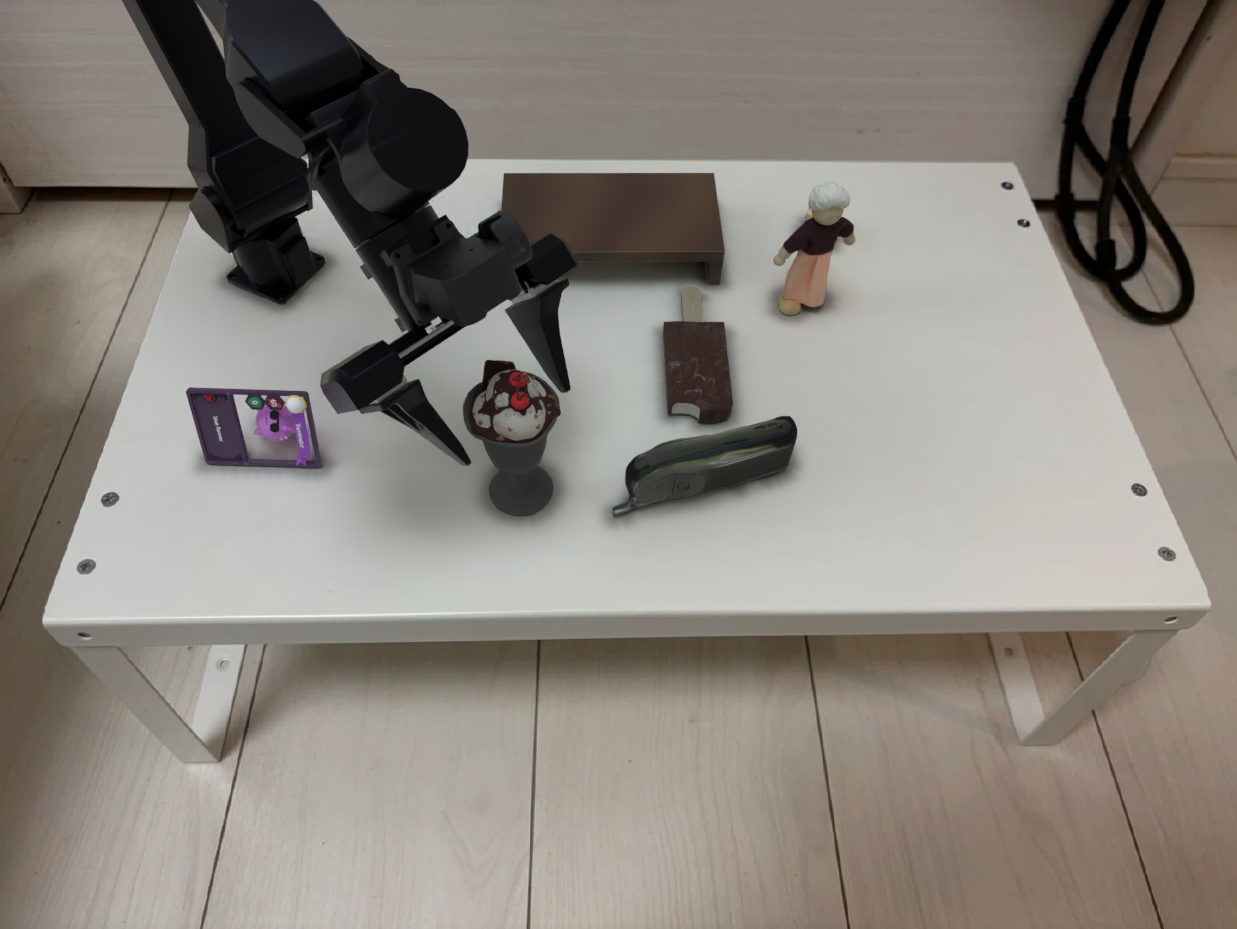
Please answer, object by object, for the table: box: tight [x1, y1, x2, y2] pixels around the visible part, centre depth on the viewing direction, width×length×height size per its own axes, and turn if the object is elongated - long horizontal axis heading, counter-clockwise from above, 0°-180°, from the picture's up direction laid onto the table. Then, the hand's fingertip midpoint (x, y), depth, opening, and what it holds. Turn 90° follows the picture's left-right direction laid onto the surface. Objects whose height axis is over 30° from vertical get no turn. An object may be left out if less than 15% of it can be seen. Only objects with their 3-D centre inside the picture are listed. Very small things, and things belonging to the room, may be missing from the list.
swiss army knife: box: [611, 415, 798, 516], centre depth 71 cm, size 5×3×15 cm
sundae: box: [462, 359, 562, 517], centre depth 66 cm, size 7×7×15 cm
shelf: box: [500, 172, 726, 286], centre depth 87 cm, size 20×11×4 cm, turn 92°
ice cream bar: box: [662, 285, 734, 424], centre depth 80 cm, size 5×2×15 cm
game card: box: [185, 387, 323, 468], centre depth 72 cm, size 7×5×9 cm
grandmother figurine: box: [772, 180, 857, 316], centre depth 79 cm, size 8×4×13 cm, turn 123°
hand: (518, 427), depth 65 cm, fingers open, 9 cm apart
